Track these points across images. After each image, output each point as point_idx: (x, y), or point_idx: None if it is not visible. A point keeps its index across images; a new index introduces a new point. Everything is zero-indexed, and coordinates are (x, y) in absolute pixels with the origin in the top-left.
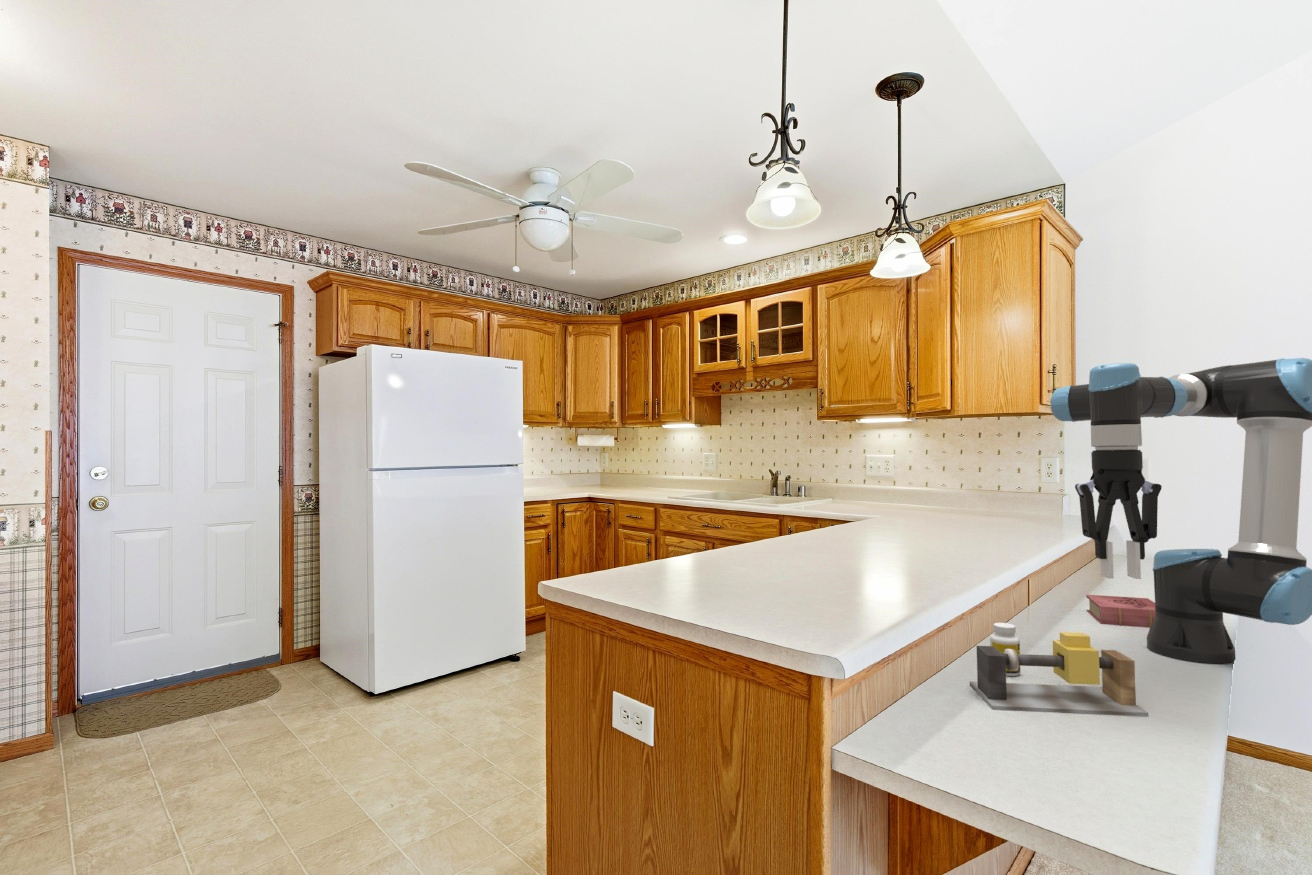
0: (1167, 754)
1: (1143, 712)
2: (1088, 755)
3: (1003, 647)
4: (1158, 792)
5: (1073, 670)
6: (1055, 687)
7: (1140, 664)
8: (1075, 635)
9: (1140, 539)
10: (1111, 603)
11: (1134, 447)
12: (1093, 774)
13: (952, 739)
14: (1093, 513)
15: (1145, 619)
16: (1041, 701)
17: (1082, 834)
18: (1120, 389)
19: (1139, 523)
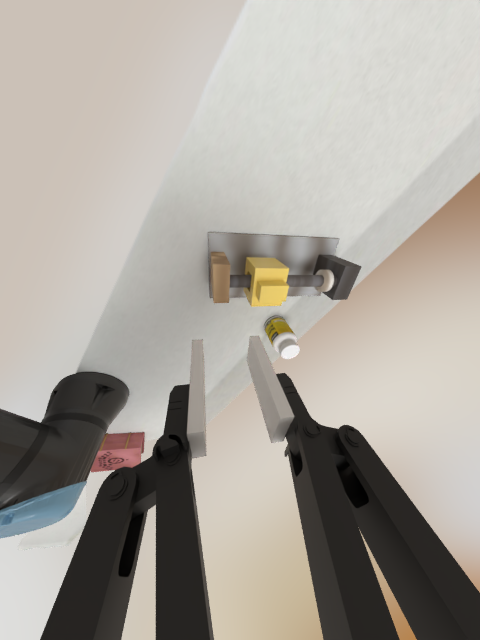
0: (247, 110)
1: (212, 233)
2: (331, 106)
3: (290, 330)
4: None
5: (275, 261)
6: None
7: (151, 359)
8: (276, 289)
9: (183, 447)
10: (128, 455)
11: None
12: (365, 35)
13: (422, 154)
14: (441, 588)
15: (108, 440)
16: (291, 254)
17: None
18: None
19: (173, 565)
